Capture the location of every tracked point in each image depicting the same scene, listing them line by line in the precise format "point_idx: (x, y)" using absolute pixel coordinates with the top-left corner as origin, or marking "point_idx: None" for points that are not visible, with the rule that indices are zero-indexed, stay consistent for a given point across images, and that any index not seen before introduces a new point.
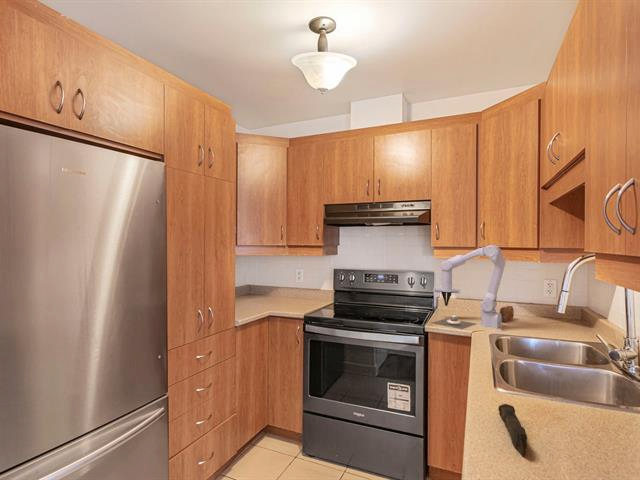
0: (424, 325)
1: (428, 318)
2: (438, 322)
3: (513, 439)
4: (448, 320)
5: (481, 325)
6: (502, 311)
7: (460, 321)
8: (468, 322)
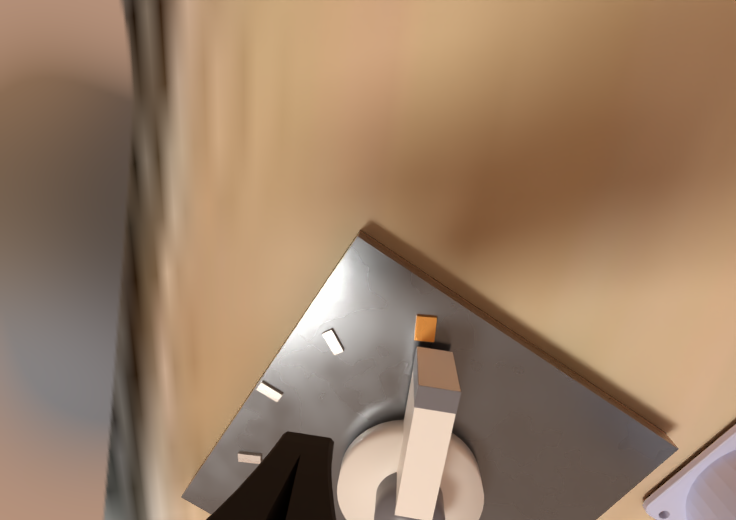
0: (143, 492)
1: (149, 170)
2: (256, 464)
3: None
4: (352, 490)
5: (693, 509)
6: None
7: (479, 513)
8: (592, 408)
